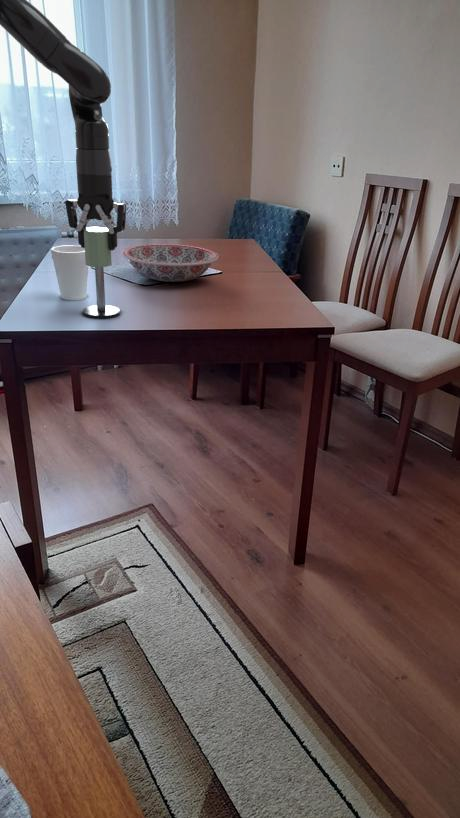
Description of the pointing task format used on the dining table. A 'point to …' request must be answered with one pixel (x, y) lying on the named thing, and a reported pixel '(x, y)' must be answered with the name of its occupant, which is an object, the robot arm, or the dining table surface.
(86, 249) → the green cup
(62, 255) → the foam cup
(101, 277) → the towel holder
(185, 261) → the ceramic bowl
